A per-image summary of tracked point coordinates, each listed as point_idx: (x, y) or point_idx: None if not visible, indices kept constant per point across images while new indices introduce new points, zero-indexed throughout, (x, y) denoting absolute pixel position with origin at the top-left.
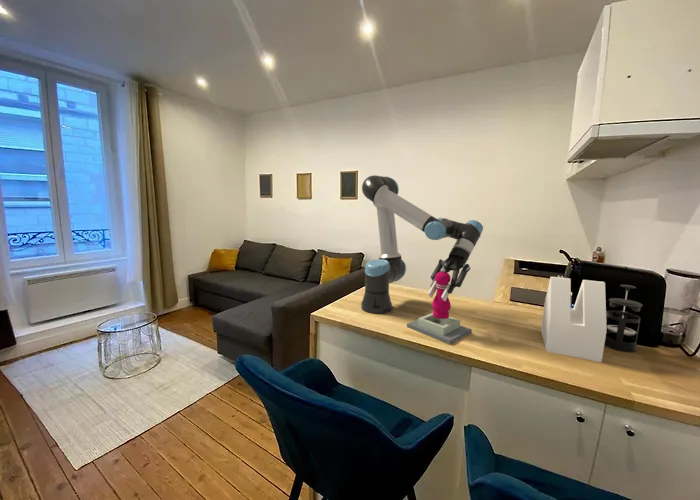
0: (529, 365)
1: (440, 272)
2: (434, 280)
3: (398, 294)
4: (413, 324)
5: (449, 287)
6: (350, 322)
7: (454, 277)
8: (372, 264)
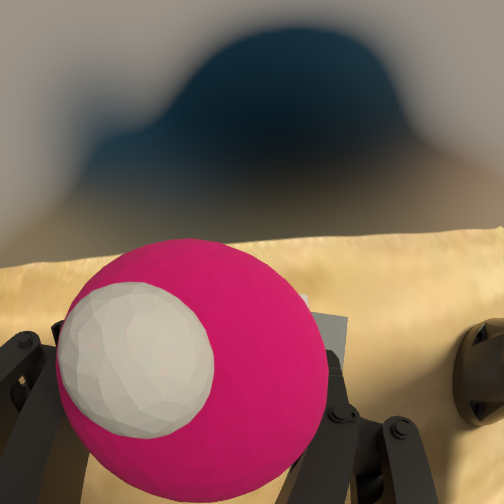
0: (11, 294)
1: (201, 305)
2: (332, 405)
3: None
4: (325, 326)
5: None
6: (451, 234)
7: (28, 403)
8: None
